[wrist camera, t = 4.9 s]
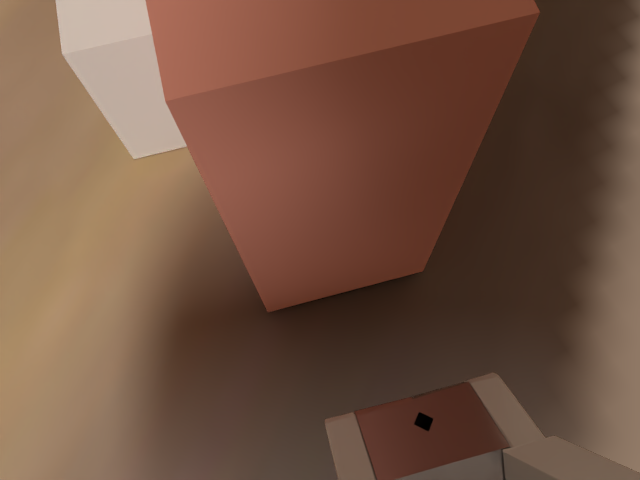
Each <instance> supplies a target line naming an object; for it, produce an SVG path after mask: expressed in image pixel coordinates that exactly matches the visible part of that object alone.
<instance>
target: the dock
mask: <svg viewBox="0 0 640 480" xmlns="http://www.w3.org/2000/svg"><path fill="white" fill-rule="evenodd" d="M56 7H57V15H58V24H59V32H60V40H61V48H62V55H63V56H64V58H65V59H66V61H67V62H68V64H69V65H70V66H71V68H72V69H73V71H74V72H75V74H76V75H77V77H78V78H79V80H80V81H81V83H82V84H83V85H84V87H85V88H86V90H87V91H88V93H89V94H90V96H91V97H92V99H93V100H94V102H95V103H96V104H97V106H98V107H99V109H100V110H101V112H102V113H103V115H104V116H105V118H106V119H107V121H108V122H109V123H110V125H111V126H112V128H113V129H114V131H115V132H116V134H117V135H118V137H119V138H120V140H121V141H122V142H123V144H124V145H125V147H126V148H127V150H128V151H129V153H130V154H131V156H132V157H133V158H134V159H137V158H141V157H145V156H149V155H153V154H157V153H162V152H166V151H170V150H174V149H178V148H182V147H186V146H187V145H186V143H185V141H184V139H183V137H182V135H181V133H180V131H179V129H178V127H177V125H176V122H175V120H174V118H173V116H172V114H171V112H170V110H169V108H168V106H167V104H166V102H165V98H164V93H163V87H162V82H161V77H160V72H159V67H158V62H157V57H156V52H155V47H154V41H153V36H152V31H151V26H150V21H149V16H148V11H147V6H146V1H145V0H56Z"/></svg>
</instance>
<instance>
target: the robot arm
mask: <svg viewBox="0 0 640 480" xmlns="http://www.w3.org/2000/svg"><path fill="white" fill-rule="evenodd" d="M325 427H326V431H327V436H328V440H329V444H330V448H331V452H332V456H333V460H334V464H335V468H336V472H337V476H338V480H640V473H639V472H636V471H634V470H632V469H630V468H627V467H625V466H623V465H620V464H618V463H616V462H614V461H611V460H609V459H607V458H604V457H602V456H600V455H598V454H596V453H593V452H591V451H589V450H587V449H584V448H582V447H580V446H578V445H575V444H573V443H571V442H569V441H566V440H564V439H562V438H560V437H557V436H555V435H554V436H550V437H547V438H546V437H545V436H544V435H543V433H542V432H541V431H540V429H539V428H538V427H537V425H536V424H535V423H534V421H533V420H532V419H531V417H530V416H529V415H528V413H527V412H526V411H525V409H524V408H523V407H522V405H521V404H520V403H519V401H518V400H517V399H516V397H515V396H514V395H513V393H512V392H511V391H510V389H509V388H508V387H507V385H506V384H505V383H504V381H503V380H502V379H501V377H500V376H499V375H498V374H496V373H494V372H493V373H490V374H486V375H483V376H480V377H476V378H473V379H470V380H466V382H461V383H458V384H454V385H451V386H447V387H444V388H440V389H437V390H433V391H430V392H426V393H423V394H419V395H416V396H412V397H409V398H405V399H401V400H397V401H393V402H389V403H385V404H381V405H377V406H373V407H369V408H365V409H361V410H357V411H354V413H353V412H352V413H348V414H344V415H340V416H336V417H332V418H328V419H325Z"/></svg>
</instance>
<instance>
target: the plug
mask: <svg viewBox="0 0 640 480" xmlns="http://www.w3.org/2000/svg"><path fill="white" fill-rule="evenodd" d="M145 1H146V6H147V11H148V16H149V21H150V26H151V31H152V36H153V41H154V47H155V52H156V57H157V62H158V67H159V72H160V77H161V82H162V87H163V93H164V98H165V102H166V104H167V106H168V108H169V110H170V112H171V114H172V116H173V118H174V120H175V122H176V125H177V127H178V129H179V131H180V133H181V135H182V137H183V139H184V141H185V143H186V145H187V147H188V149H189V151H190V153H191V155H192V157H193V159H194V162H195V164H196V166H197V168H198V170H199V172H200V174H201V176H202V178H203V180H204V182H205V184H206V186H207V188H208V190H209V192H210V194H211V197H212V199H213V201H214V203H215V205H216V207H217V209H218V211H219V213H220V215H221V217H222V219H223V221H224V223H225V225H226V227H227V229H228V231H229V234H230V236H231V238H232V240H233V242H234V244H235V246H236V248H237V250H238V252H239V254H240V256H241V258H242V260H243V262H244V264H245V266H246V269H247V271H248V273H249V275H250V277H251V279H252V281H253V283H254V285H255V287H256V289H257V291H258V293H259V295H260V297H261V299H262V301H263V303H264V306H265V308H266V310H267V312H271V311H275V310H278V309H282V308H286V307H290V306H294V305H297V304H301V303H305V302H309V301H313V300H316V299H320V298H324V297H328V296H331V295H335V294H339V293H343V292H347V291H350V290H354V289H358V288H362V287H366V286H369V285H373V284H377V283H381V282H384V281H388V280H392V279H396V278H400V277H403V276H407V275H411V274H415V273H418V272H422V271H423V270H424V268H425V266H426V264H427V262H428V259H429V257H430V255H431V253H432V251H433V248H434V246H435V244H436V242H437V239H438V237H439V235H440V233H441V231H442V228H443V226H444V224H445V222H446V220H447V217H448V215H449V213H450V211H451V208H452V206H453V204H454V202H455V200H456V197H457V195H458V193H459V191H460V189H461V186H462V184H463V182H464V180H465V178H466V175H467V173H468V171H469V169H470V166H471V164H472V162H473V160H474V158H475V155H476V153H477V151H478V149H479V147H480V144H481V142H482V140H483V138H484V135H485V133H486V131H487V129H488V127H489V124H490V122H491V120H492V118H493V116H494V113H495V111H496V109H497V107H498V105H499V102H500V100H501V98H502V96H503V93H504V91H505V89H506V87H507V85H508V82H509V80H510V78H511V76H512V74H513V71H514V69H515V67H516V65H517V62H518V60H519V58H520V56H521V54H522V51H523V49H524V47H525V45H526V43H527V40H528V38H529V36H530V34H531V32H532V29H533V27H534V25H535V23H536V20H537V18H538V16H539V14H540V11H539V9H538V7H537V5H536V3H535V1H534V0H145Z"/></svg>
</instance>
